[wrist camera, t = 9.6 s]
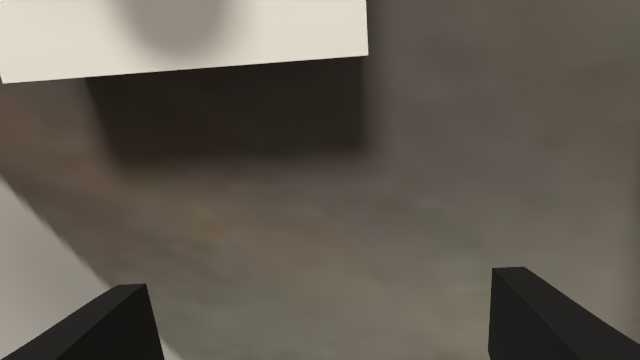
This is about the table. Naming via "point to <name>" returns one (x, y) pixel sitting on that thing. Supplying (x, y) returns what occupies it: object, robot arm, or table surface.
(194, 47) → the socket block
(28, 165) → the table surface
